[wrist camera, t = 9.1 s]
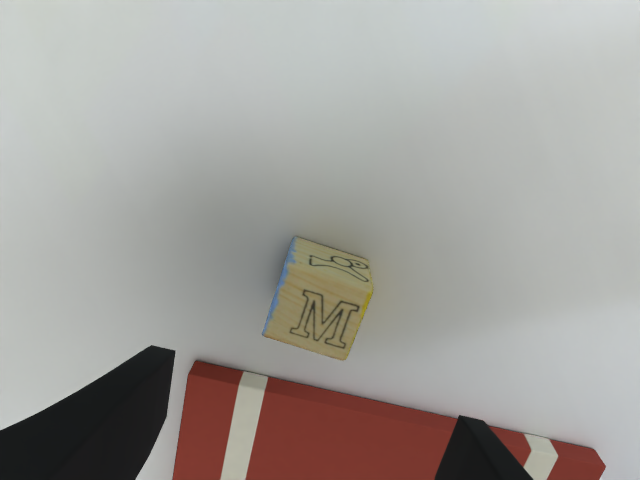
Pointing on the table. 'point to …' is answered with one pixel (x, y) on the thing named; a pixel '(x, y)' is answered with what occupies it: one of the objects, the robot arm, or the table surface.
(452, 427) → the towel
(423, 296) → the table surface
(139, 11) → the table surface
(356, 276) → the alphabet block
